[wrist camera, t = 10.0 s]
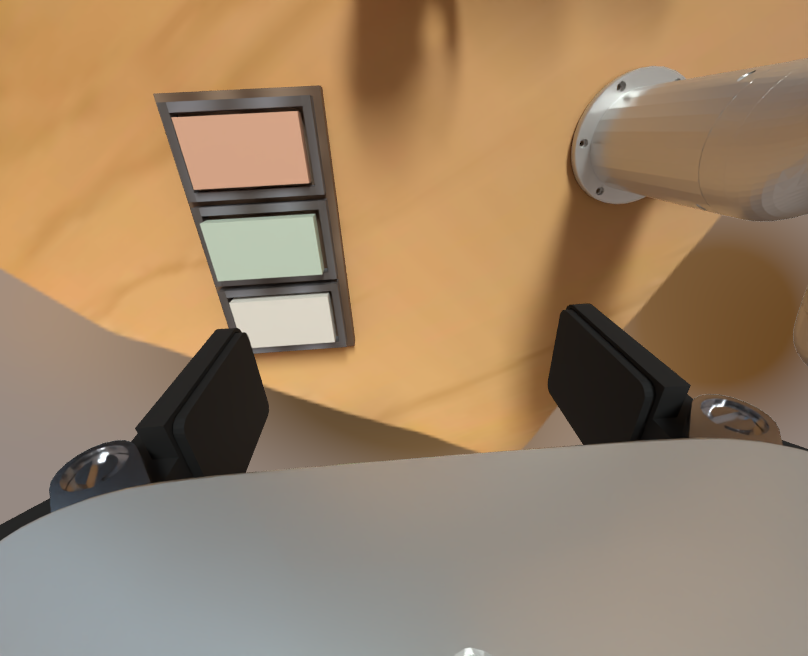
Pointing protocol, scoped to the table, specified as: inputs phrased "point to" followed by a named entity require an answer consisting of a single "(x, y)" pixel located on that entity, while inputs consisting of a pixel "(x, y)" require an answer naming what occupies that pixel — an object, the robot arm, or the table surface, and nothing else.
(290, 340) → the cream tile
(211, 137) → the terracotta tile
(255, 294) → the dark grey tile board
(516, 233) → the table surface
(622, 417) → the robot arm
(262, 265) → the sage tile
